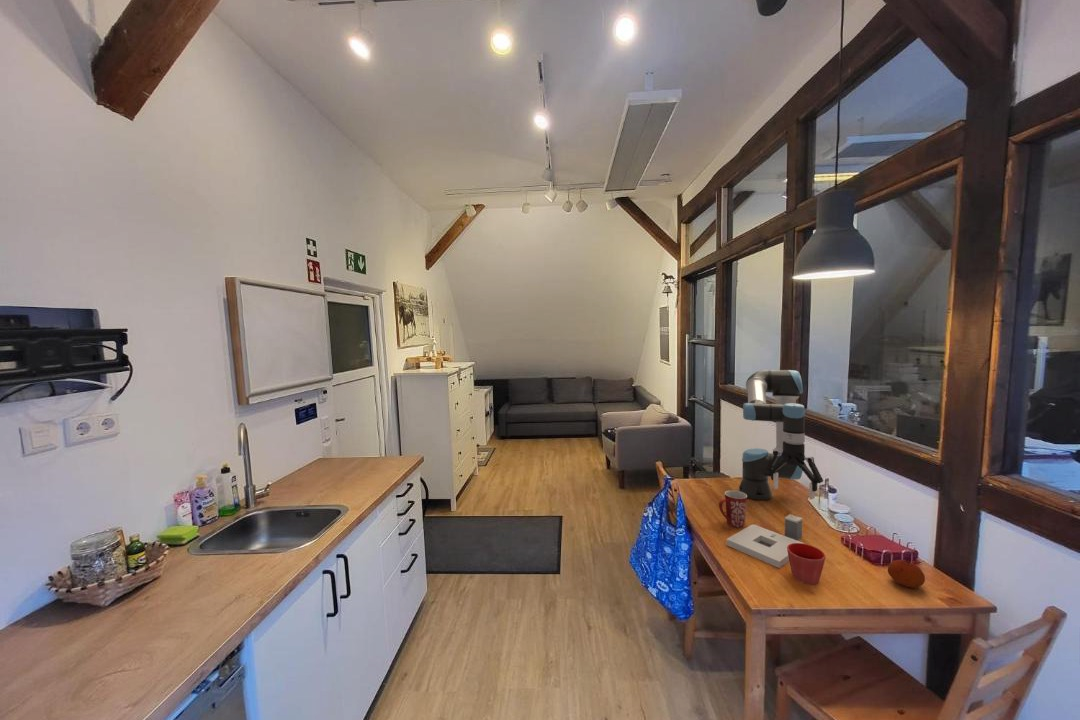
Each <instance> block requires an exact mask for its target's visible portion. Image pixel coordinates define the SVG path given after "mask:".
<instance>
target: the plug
mask: <svg viewBox="0 0 1080 720" xmlns="http://www.w3.org/2000/svg"><path fill="white" fill-rule="evenodd" d="M784 536H786V537H789V538H792V539H794V540H797V541H800V539H802V537H803V518H802V517H799V516H796V515H795V514H794V515H793V514H791V513H790V514H788V515H786V516H785V517H784Z"/></svg>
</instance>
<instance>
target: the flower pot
mask: <svg viewBox="0 0 1080 720" xmlns="http://www.w3.org/2000/svg"><path fill="white" fill-rule="evenodd" d="M803 543H804V542H802V543H792V544H789V545H788V546H787V551H788V557H789V562H788V563H789V566H790V571H791V575H792V577H793V578H794V579H795V580H796V581H798V582H800V583H802V584H805V585H810V586H813V585H817V584H819V583H820V580H821V575H822V573H823V569H824V565H825V563H826V562H825V561H826V554H825V552H823V551H822V550H821V549H819V548H818V547H816V546H813V545H810V544H807V543H805V544H803Z"/></svg>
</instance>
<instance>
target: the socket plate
mask: <svg viewBox="0 0 1080 720" xmlns="http://www.w3.org/2000/svg"><path fill="white" fill-rule="evenodd" d="M792 543H803V544H806V543H805V542H802V541H800V540H794V539H792V538H789V537H786V536H785V535H784V534H780V533H778V532H775V531H772V530H770V529H766V528H764V527H761V526H759V525H757V524H754V523H752V524H750V525H748V526H747V527H745V528H744V529H742V530H740V531H738V532H736V533H735V534H733V535H731V536H729V537H727V538H726V546H727V547H730V548H732V549H735V550H737V551H740V552H741V553H744V554H746V555H748V556H751V557H753V558H755V559H757V560H759V561H762V562H764V563H767V564H769V565H771V566H774V567H776V568H778V569H781V568H782V567H784V566H785V565H786V564H787V563H790V562H789V557H788V551H787V546H788V545H789V544H792Z"/></svg>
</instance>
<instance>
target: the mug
mask: <svg viewBox="0 0 1080 720" xmlns="http://www.w3.org/2000/svg"><path fill="white" fill-rule="evenodd" d="M723 494H724V498H722V499H720V500H719V502H718V508H719V511H720V513H721V515H722V516H723V517H724V518H725V519H726V524H727V525H729V526H731V527H732V528H733V527H734V528H744V527H745V526H746V513H747V499H748V498H747V495H746V494H745V493H743V492H740V491H739V490H733V489H732V490H726V491H724V493H723ZM724 503H725V512H724V509H723V505H724Z"/></svg>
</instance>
